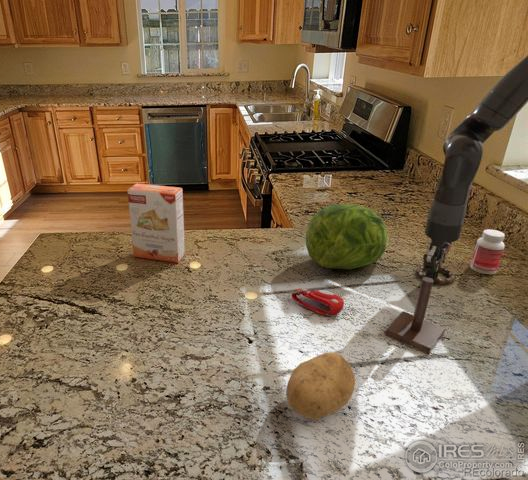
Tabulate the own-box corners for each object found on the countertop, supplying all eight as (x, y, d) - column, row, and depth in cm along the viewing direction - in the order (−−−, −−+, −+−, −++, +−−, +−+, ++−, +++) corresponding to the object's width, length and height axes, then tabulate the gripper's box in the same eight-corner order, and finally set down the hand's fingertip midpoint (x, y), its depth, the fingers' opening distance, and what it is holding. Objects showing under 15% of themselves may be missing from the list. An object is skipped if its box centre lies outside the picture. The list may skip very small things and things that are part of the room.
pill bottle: (500, 276, 111) (513, 238, 106) (475, 275, 111) (487, 237, 107) (488, 265, 116) (500, 228, 112) (465, 264, 117) (475, 227, 112)
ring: (459, 275, 110) (460, 271, 110) (448, 288, 105) (449, 284, 104) (424, 264, 116) (424, 260, 115) (411, 276, 110) (412, 272, 110)
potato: (267, 409, 72) (270, 373, 69) (317, 370, 81) (321, 336, 77) (315, 446, 66) (320, 409, 62) (364, 400, 74) (371, 364, 71)
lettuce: (420, 243, 110) (384, 188, 119) (358, 250, 98) (323, 187, 107) (372, 277, 124) (343, 225, 132) (313, 286, 112) (285, 228, 120)
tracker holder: (332, 287, 105) (355, 300, 95) (328, 304, 106) (351, 319, 96) (287, 283, 102) (307, 296, 92) (284, 300, 102) (303, 315, 93)
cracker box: (132, 258, 122) (125, 189, 113) (141, 248, 128) (135, 182, 118) (178, 264, 119) (174, 193, 110) (185, 254, 124) (183, 186, 115)
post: (444, 333, 90) (459, 279, 84) (429, 354, 84) (444, 297, 78) (401, 316, 96) (413, 264, 90) (384, 334, 90) (396, 280, 84)
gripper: (453, 231, 94) (436, 297, 101) (471, 214, 102) (454, 276, 110) (418, 222, 98) (404, 286, 106) (438, 206, 107) (424, 266, 115)
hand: (430, 280), depth 108 cm, fingers closed on ring, 1 cm apart
